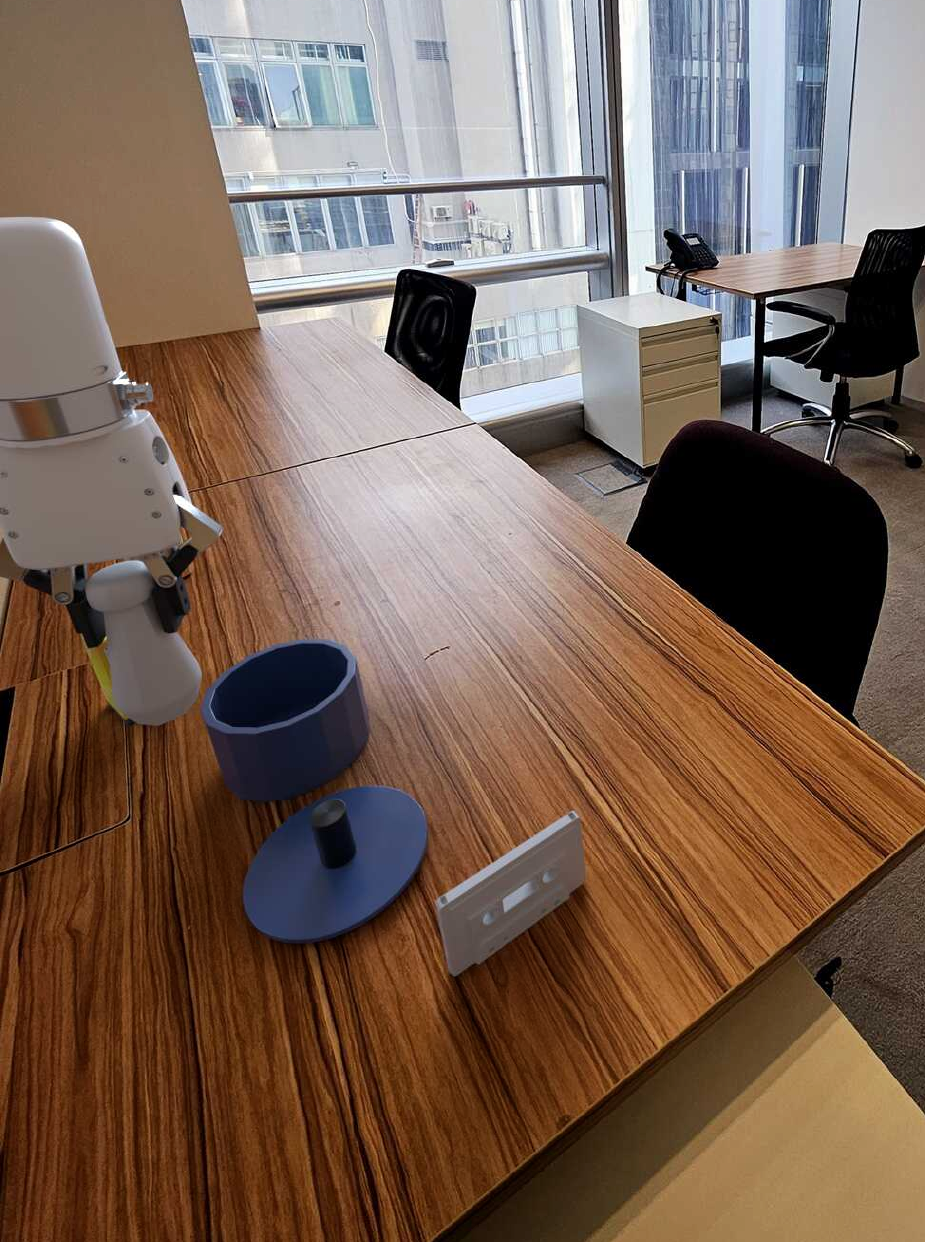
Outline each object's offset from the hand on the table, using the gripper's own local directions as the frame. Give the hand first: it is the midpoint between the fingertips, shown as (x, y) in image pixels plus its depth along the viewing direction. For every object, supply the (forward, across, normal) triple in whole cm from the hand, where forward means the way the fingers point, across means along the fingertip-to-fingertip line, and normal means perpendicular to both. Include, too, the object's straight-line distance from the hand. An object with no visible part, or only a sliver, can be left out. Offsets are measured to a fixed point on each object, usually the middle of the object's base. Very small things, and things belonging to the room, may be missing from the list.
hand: (138, 627), depth 57 cm
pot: (+24, -5, -11) cm, 27 cm away
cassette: (+24, -25, +16) cm, 38 cm away
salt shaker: (+8, 0, 0) cm, 8 cm away
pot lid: (+23, -11, +5) cm, 26 cm away
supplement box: (+24, +12, -24) cm, 36 cm away
